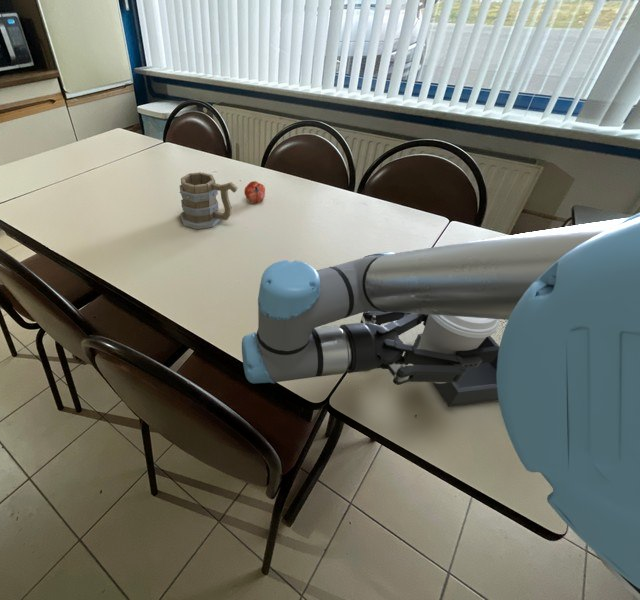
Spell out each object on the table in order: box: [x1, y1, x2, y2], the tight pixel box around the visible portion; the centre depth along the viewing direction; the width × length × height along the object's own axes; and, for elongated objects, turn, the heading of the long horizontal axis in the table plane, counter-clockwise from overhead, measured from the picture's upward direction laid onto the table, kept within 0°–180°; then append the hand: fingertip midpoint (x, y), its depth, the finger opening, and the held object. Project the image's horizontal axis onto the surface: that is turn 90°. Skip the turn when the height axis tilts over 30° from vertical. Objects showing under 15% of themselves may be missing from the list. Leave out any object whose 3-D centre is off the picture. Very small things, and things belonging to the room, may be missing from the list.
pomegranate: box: [243, 180, 266, 204], centre depth 130 cm, size 7×7×10 cm
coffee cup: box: [418, 314, 500, 384], centre depth 59 cm, size 10×10×15 cm
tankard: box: [179, 171, 239, 230], centre depth 116 cm, size 20×13×15 cm, turn 60°
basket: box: [412, 333, 500, 407], centre depth 73 cm, size 15×15×5 cm
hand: (477, 333), depth 59 cm, fingers closed on coffee cup, 8 cm apart
